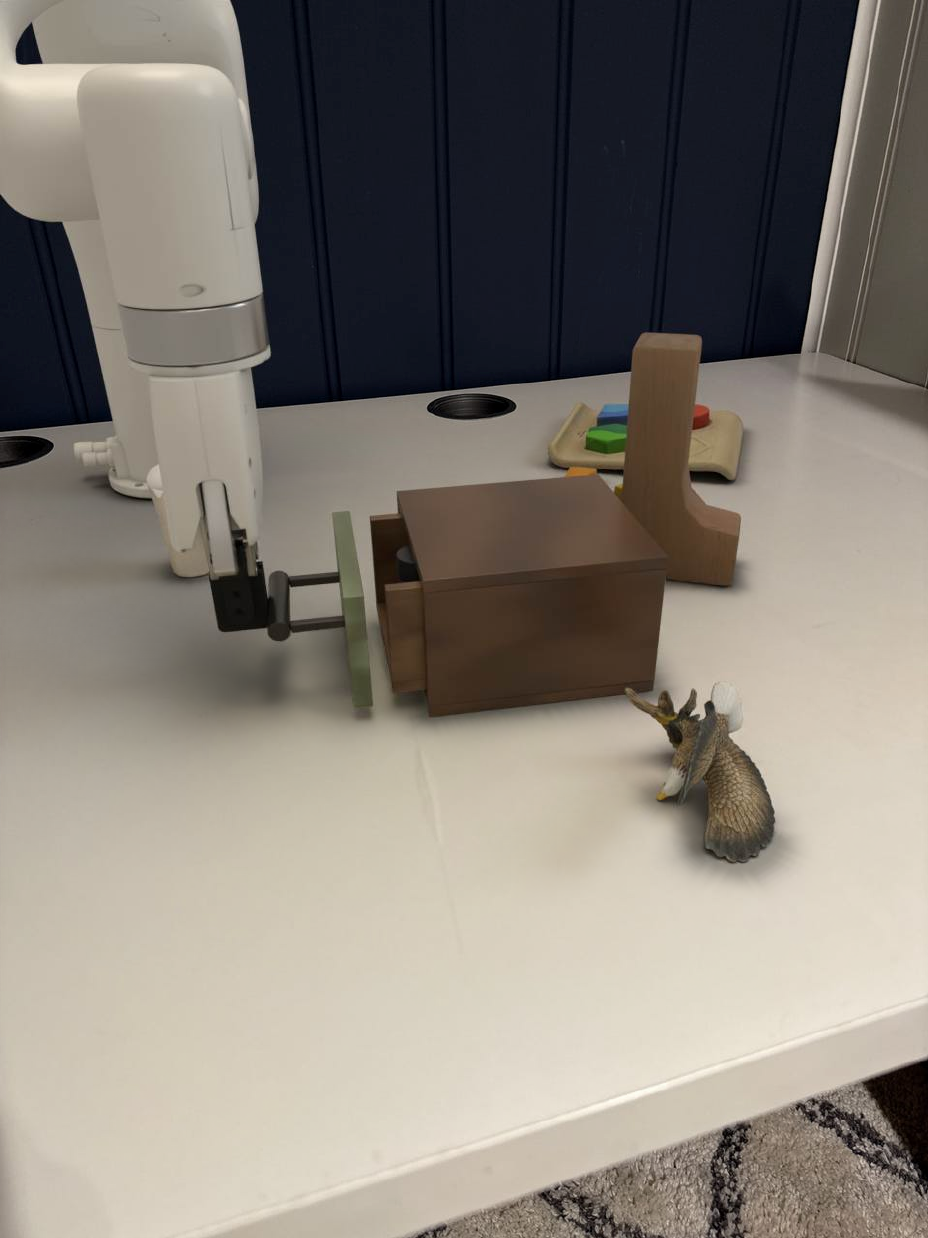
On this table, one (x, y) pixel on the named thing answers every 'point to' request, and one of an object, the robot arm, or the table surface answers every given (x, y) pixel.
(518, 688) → the cabinet
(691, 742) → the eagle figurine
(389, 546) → the drawer
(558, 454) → the shape puzzle
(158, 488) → the milkshake
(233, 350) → the robot arm
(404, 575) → the glue stick
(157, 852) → the table surface
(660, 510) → the wooden block
